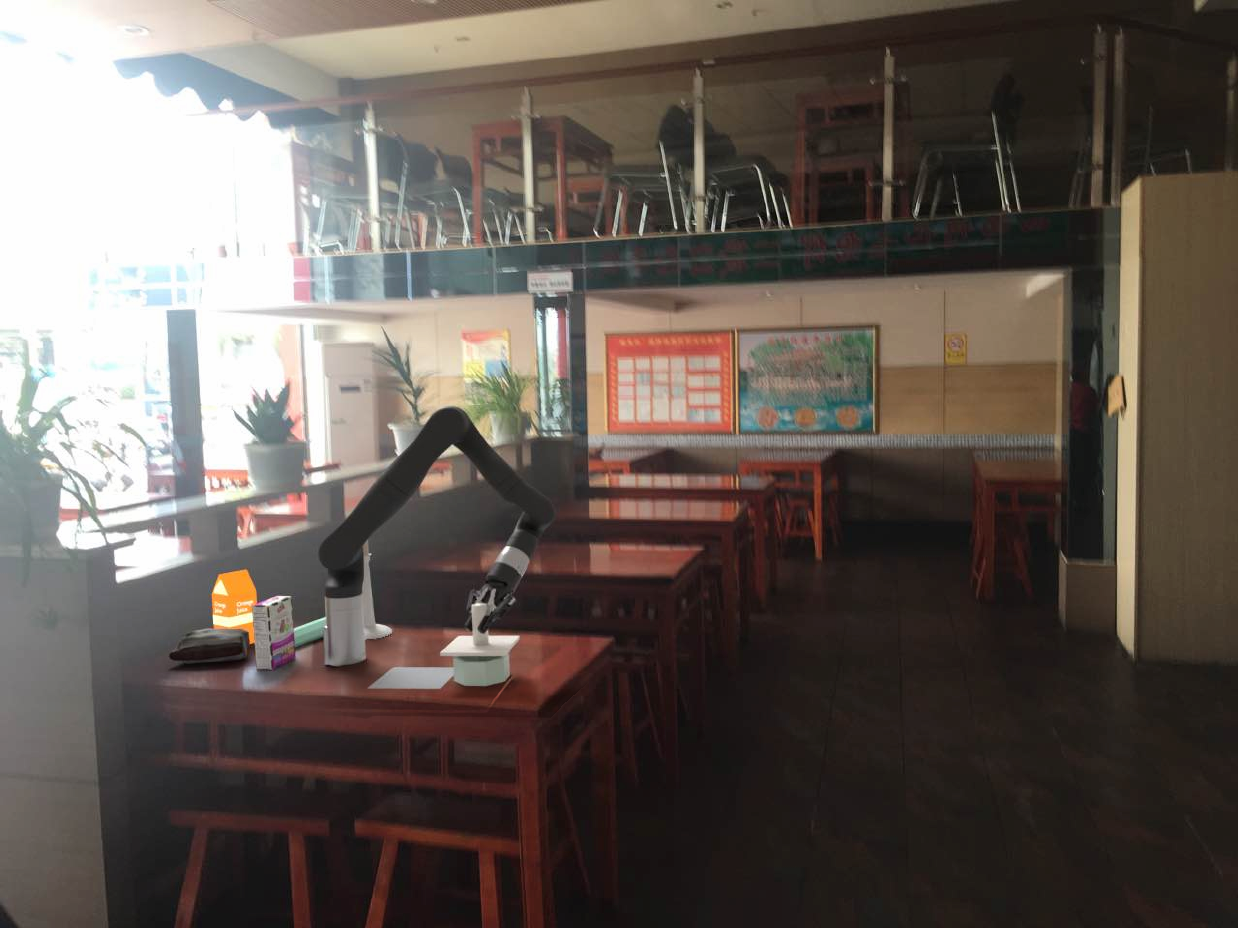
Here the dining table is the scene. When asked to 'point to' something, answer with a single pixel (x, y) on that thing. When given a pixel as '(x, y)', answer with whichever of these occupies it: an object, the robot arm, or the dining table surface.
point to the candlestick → (370, 604)
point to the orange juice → (234, 602)
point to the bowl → (481, 670)
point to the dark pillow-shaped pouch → (212, 646)
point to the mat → (414, 678)
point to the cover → (480, 639)
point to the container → (309, 632)
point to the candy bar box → (273, 632)
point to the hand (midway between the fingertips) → (474, 630)
